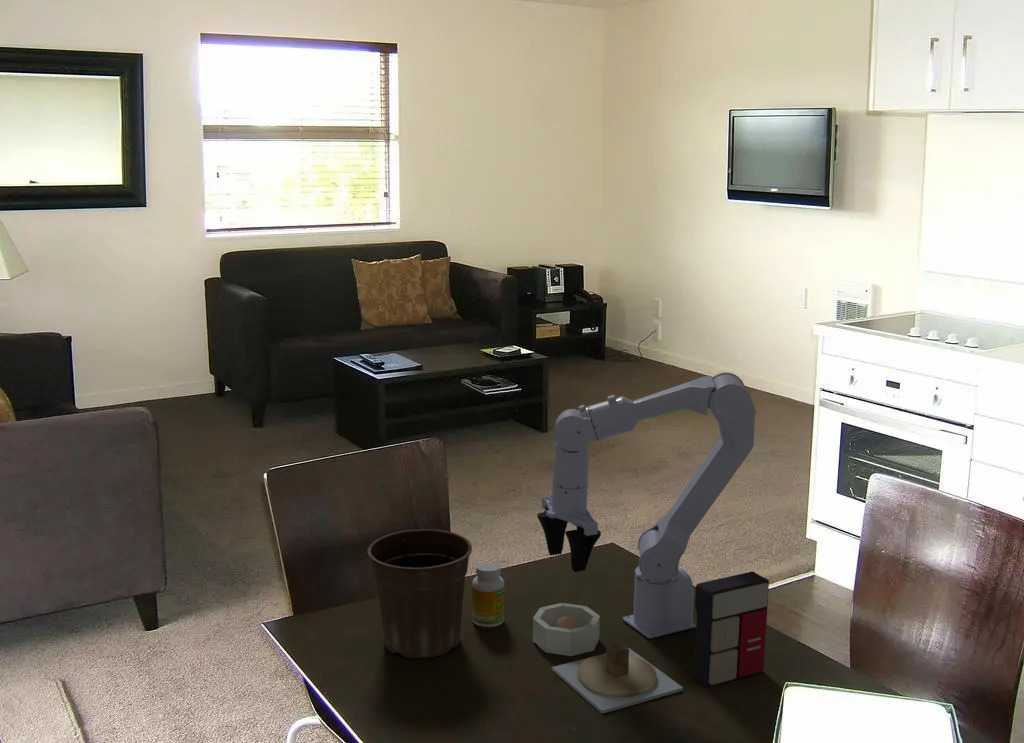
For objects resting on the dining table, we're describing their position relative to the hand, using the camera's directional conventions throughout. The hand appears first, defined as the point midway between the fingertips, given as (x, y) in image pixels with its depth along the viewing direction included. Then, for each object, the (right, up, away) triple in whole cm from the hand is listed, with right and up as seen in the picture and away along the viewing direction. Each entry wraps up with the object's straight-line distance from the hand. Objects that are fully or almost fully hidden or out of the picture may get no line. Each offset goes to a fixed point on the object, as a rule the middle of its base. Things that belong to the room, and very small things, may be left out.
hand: (566, 562), depth 172 cm
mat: (+6, -14, -17) cm, 23 cm away
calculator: (+24, -14, -16) cm, 32 cm away
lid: (+6, -14, -18) cm, 23 cm away
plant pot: (-24, -12, -6) cm, 27 cm away
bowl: (0, -12, -5) cm, 13 cm away
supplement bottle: (-13, -10, +2) cm, 17 cm away
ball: (0, -9, -5) cm, 11 cm away
